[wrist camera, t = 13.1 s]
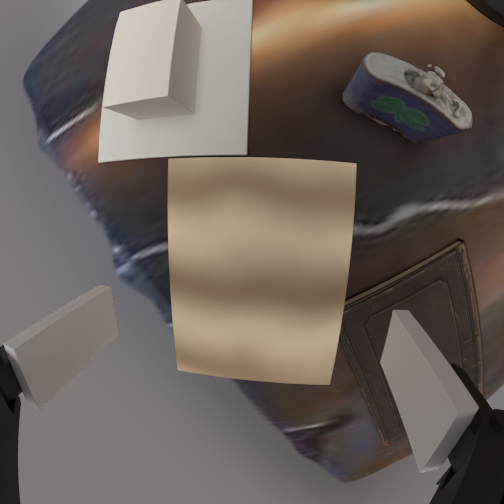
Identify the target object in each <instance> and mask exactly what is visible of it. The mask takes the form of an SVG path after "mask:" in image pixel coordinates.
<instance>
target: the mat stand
mask: <svg viewBox="0 0 504 504" xmlns="http://www.w3.org/2000/svg"><path fill="white" fill-rule="evenodd" d="M252 16H253V0H211V1H204V2H197V3H191V4H186V3H185V1H184V0H162V1H158V2H154V3H150V4H147V5H143V6H139V7H136V8H132V9H129V10H126V11H123V12H120V15H119V19H118V21H117V25H116V29H115V33H114V37H113V42H112V47H111V52H110V57H109V63H108V69H107V75H106V81H105V88H104V96H103V104H102V114H101V125H100V138H99V158H98V163H103V162H113V161H123V160H134V159H146V158H161V157H180V156H213V155H248V124H249V95H250V67H251V41H252Z"/></svg>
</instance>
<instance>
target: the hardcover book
mask: <svg viewBox="0 0 504 504" xmlns="http://www.w3.org/2000/svg"><path fill="white" fill-rule="evenodd" d="M393 310H409V312H410V313H411V314H412V315H413V317H414V318H415V319H416V320H417V322H418V323H419V324H420V326H421V327H422V328H423V329H424V331H425V332H426V333H427V335H428V336H429V337H430V338H431V340H432V341H433V342H434V344H435V345H436V346H437V348H438V349H439V350H440V352H441V353H442V355H443V356H444V357H445V359H446V360H447V361H448V363H449V364H453V363H455V364H456V365H458V366H459V367H461V368H462V369H463V370H465V372H466V373H467V374H468V376H469V377H470V380H472V381H473V383H474V384H475V387H477V388H478V390H479V391H480V392H481V394H483V392H484V364H483V346H482V334H481V325H480V316H479V309H478V302H477V296H476V290H475V284H474V279H473V274H472V269H471V265H470V260H469V256H468V252H467V248H466V244H465V241H464V240H462V239H459V238H458V241H457V242H456V243H454V244H452V245H451V246H449V247H447V248H446V249H444V250H442V251H441V252H439V253H437V254H435V255H434V256H432V257H430V258H428V259H427V260H425V261H423V262H421V263H419V264H418V265H416V266H414V267H412V268H410V269H408V270H407V271H405V272H403V273H401V274H399V275H397V276H395V277H393V278H391V279H390V280H388V281H386V282H384V283H382V284H380V285H378V286H376V287H374V288H372V289H370V290H368V291H366V292H364V293H362V294H360V295H358V296H356V297H354V298H351V299H349V300H347V301H345V303H344V310H343V316H342V323H341V329H340V335H339V339H340V341H341V343H342V345H343V348H344V350H345V352H346V354H347V357H348V359H349V361H350V363H351V366H352V368H353V370H354V373H355V375H356V377H357V380H358V382H359V384H360V387H361V389H362V391H363V394H364V396H365V398H366V401H367V403H368V406H369V408H370V410H371V413H372V415H373V418H374V420H375V423H376V425H377V428H378V430H379V433H380V435H381V438H382V440H383V443H384V445H385V446H386V445H388V444H391V443H393V442H395V441H398V440H400V439H402V438H405V437H407V436H408V435H407V432H406V430H405V427H404V424H403V421H402V418H401V415H400V413H399V410H398V407H397V404H396V402H395V399H394V396H393V394H392V391H391V389H390V386H389V384H388V381H387V378H386V376H385V373H384V371H383V368H382V366H381V364H380V361H381V358H382V354H383V350H384V346H385V342H386V338H387V334H388V330H389V326H390V322H391V317H392V312H393Z"/></svg>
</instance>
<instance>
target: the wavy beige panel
mask: <svg viewBox="0 0 504 504" xmlns="http://www.w3.org/2000/svg"><path fill="white" fill-rule="evenodd" d="M355 190H356V163H346V162H335V161H322V160H307V159H289V158H259V157H204V158H175V159H168V250H169V274H170V291H171V306H172V319H173V330H174V340H175V350H176V359H177V368H178V370H180V371H186V372H192V373H198V374H205V375H212V376H219V377H226V378H235V379H243V380H253V381H264V382H277V383H293V384H317V385H330V381H331V376H332V371H333V366H334V361H335V356H336V351H337V346H338V340H339V335H340V329H341V323H342V316H343V310H344V303H345V296H346V289H347V281H348V273H349V264H350V255H351V245H352V234H353V222H354V208H355Z"/></svg>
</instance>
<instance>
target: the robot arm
mask: <svg viewBox="0 0 504 504" xmlns="http://www.w3.org/2000/svg"><path fill="white" fill-rule="evenodd" d="M468 1H469V2H470V3H471V4H472V5H473V6H475V7H476V8H477V9H478V10H479V11H481V12H482V13H483V14H484V15H486V16H487V17H489V18H490V19H492V20H493V21H495V22H496V23H498V24H500V25H502V26H504V0H468ZM117 337H118V330H117V324H116V318H115V312H114V305H113V298H112V291H111V287H108V286H101V285H99V286H97V287H95V288H93V289H92V290H90V291H88V292H87V293H85V294H83V295H81V296H80V297H78V298H76V299H75V300H73V301H71V302H70V303H68V304H66V305H65V306H63V307H61V308H60V309H58V310H56V311H55V312H53V313H51V314H50V315H48V316H47V317H45V318H43V319H42V320H40V321H38V322H37V323H35V324H33V325H32V326H30V327H29V328H27V329H25V330H24V331H22V332H21V333H19V334H18V335H16V336H14V337H13V338H11V339H10V340H8V341H7V342H5V343H4V345H3V346H1V347H0V504H20V496H19V483H18V482H19V481H18V432H19V417H20V407H21V401H20V398H19V396H18V395H19V394H20V393H21V392H23V394H24V396H25V398H26V400H27V402H28V403H29V404H30V405H32V406H34V407H35V408H37V409H41V408H42V407H43V406H44V405H45V404H46V403H47V402H48V401H49V400H51V399H52V398H53V397H54V396H55V395H56V394H57V393H58V392H59V391H60V390H61V389H62V388H63V387H64V386H65V385H66V384H67V383H68V382H69V381H70V380H71V379H72V378H73V377H75V376H76V375H77V374H78V373H79V372H80V371H81V370H82V369H83V368H84V367H85V366H86V365H87V364H88V363H90V362H91V361H92V360H93V359H94V358H95V357H96V356H97V355H98V354H99V353H100V352H101V351H102V350H104V349H105V348H106V347H107V346H108V345H109V344H110V343H111V342H112V341H113V340H115V338H117ZM380 364H381V366H382V368H383V371H384V373H385V376H386V378H387V381H388V384H389V386H390V389H391V391H392V394H393V396H394V399H395V402H396V404H397V407H398V410H399V413H400V415H401V418H402V421H403V424H404V427H405V430H406V432H407V435H408V438H409V441H410V444H411V447H412V450H413V454H414V457H415V460H416V463H417V466H418V470H419V473H422V472H426V471H431V470H435V469H439V468H440V467H441V466H442V464H443V463H444V461H445V460H446V459H447V458H448V459H449V461H450V463H451V466H450V467H449V469H448V470H447V471H446V473H445V474H444V475H443V476H442V477H441V479H440V480H439V481H438V482H437V483H436V484H438V485H439V484H440V485H439V487H438V489H437V491H436V493H435V495H434V496H433V498H432V500H431V502H430V504H504V410H499V409H494V410H492V408H491V407H490V406H489V404H488V403H487V401H486V400H485V398H484V397H483V395H482V394H481V392H480V391H479V390H478V388H477V387H475V384H474V383H473V381H472V380H470V377H469V376H468V374H467V373H466V372H465V370H463V369H462V368H461V367H459V366H458V365H456V364H455V363H453V364H449V363H448V361H447V360H446V359H445V357H444V356H443V355H442V353H441V352H440V350H439V349H438V348H437V346H436V345H435V344H434V342H433V341H432V340H431V338H430V337H429V336H428V335H427V333H426V332H425V331H424V329H423V328H422V327H421V326H420V324H419V323H418V322H417V320H416V319H415V318H414V317H413V315H412V314H411V313H410V312H409V310H393V312H392V317H391V322H390V326H389V330H388V334H387V338H386V342H385V346H384V350H383V354H382V358H381V361H380Z"/></svg>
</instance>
